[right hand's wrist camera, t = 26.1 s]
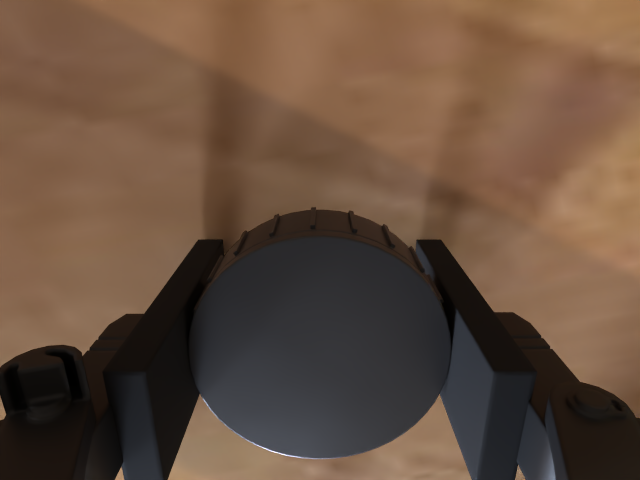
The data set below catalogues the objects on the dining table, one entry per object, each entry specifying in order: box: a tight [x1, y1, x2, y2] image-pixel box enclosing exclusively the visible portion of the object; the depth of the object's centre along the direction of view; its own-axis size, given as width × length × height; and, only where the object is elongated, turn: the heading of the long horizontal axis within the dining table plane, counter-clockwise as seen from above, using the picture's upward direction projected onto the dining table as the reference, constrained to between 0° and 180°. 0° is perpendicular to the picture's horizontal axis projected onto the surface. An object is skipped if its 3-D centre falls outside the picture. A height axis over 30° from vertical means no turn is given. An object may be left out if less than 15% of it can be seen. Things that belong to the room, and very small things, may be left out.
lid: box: [188, 207, 452, 459], centre depth 11 cm, size 6×6×2 cm
